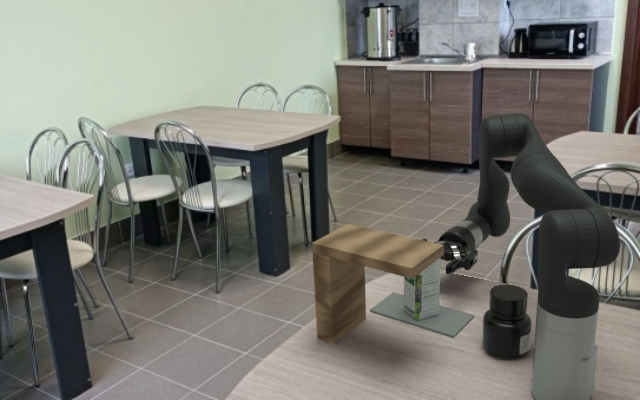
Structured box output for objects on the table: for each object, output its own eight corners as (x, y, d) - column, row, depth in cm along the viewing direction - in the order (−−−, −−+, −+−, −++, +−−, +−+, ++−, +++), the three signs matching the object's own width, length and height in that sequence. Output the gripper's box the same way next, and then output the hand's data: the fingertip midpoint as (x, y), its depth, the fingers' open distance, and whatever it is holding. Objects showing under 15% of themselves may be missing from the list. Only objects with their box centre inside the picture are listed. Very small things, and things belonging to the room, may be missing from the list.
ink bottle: (535, 362, 115) (539, 305, 111) (486, 362, 116) (488, 304, 112) (523, 335, 124) (527, 280, 121) (478, 334, 125) (480, 280, 122)
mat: (474, 316, 132) (474, 315, 132) (453, 337, 125) (453, 335, 125) (393, 293, 144) (393, 292, 144) (369, 311, 136) (369, 309, 136)
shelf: (442, 343, 123) (443, 245, 116) (412, 372, 114) (412, 268, 107) (350, 313, 136) (347, 223, 129) (317, 338, 127) (312, 243, 120)
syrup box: (402, 310, 136) (402, 248, 131) (425, 303, 138) (425, 243, 133) (417, 321, 131) (417, 258, 126) (440, 314, 133) (441, 252, 128)
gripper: (433, 220, 150) (400, 243, 137) (490, 231, 141) (460, 257, 129) (433, 248, 152) (400, 273, 140) (489, 261, 144) (459, 289, 132)
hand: (429, 265), depth 135 cm, fingers open, 8 cm apart
